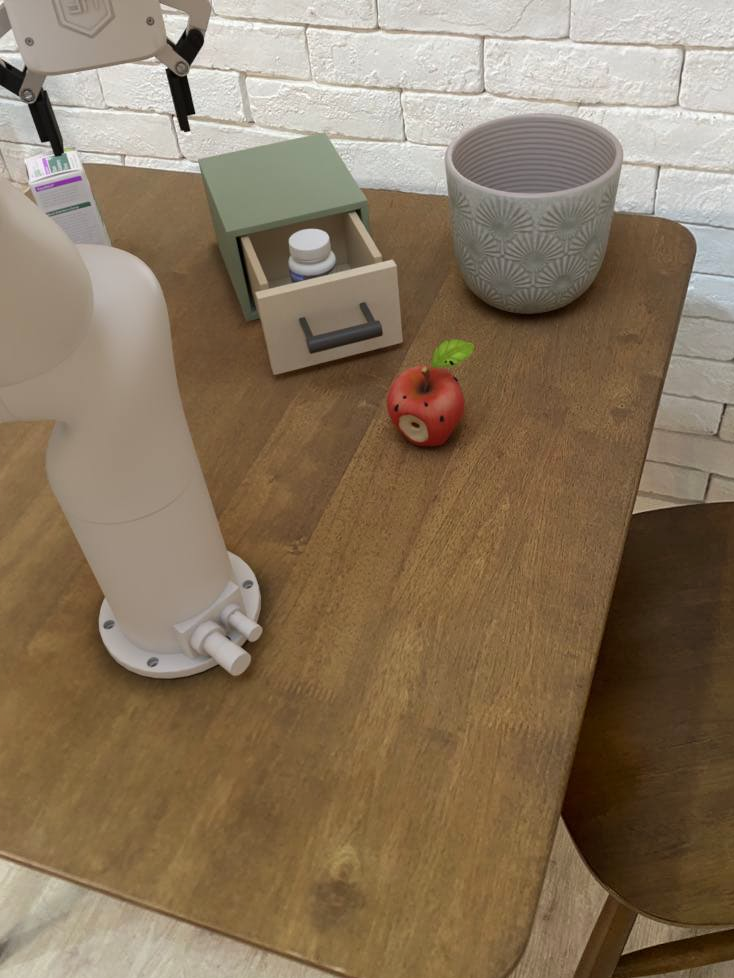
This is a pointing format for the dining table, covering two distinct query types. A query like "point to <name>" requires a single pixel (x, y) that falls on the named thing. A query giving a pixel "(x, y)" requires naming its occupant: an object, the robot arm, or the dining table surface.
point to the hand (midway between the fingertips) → (122, 137)
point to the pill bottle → (310, 255)
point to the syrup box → (67, 196)
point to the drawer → (322, 295)
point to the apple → (429, 397)
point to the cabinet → (275, 195)
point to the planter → (532, 207)
